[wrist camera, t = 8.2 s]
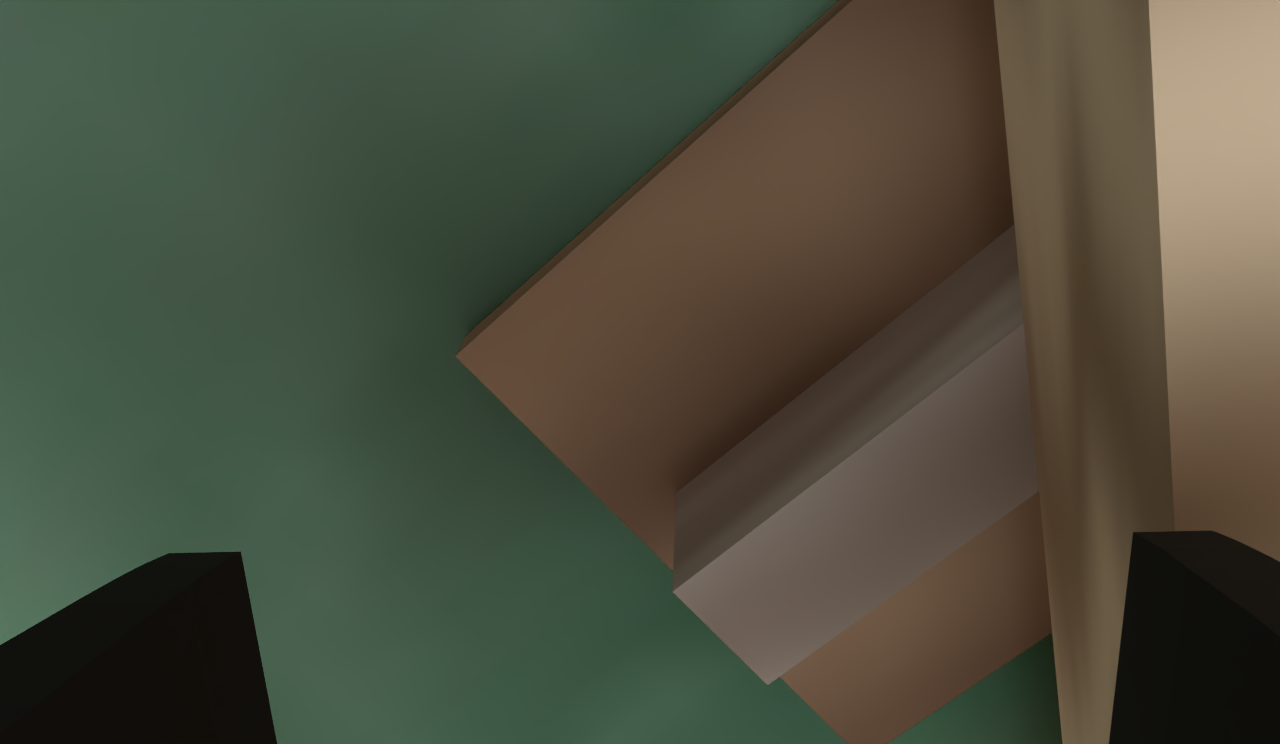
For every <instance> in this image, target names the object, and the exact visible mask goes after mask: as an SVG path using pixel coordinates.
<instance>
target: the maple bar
mask: <svg viewBox="0 0 1280 744" xmlns="http://www.w3.org/2000/svg"><path fill="white" fill-rule="evenodd" d="M994 8H995V19H996V30H997V40H998V51H999V62H1000V73H1001V84H1002V94H1003V105H1004V116H1005V127H1006V138H1007V149H1008V159H1009V170H1010V181H1011V192H1012V203H1013V214H1014V224H1015V235H1016V246H1017V257H1018V268H1019V278H1020V289H1021V300H1022V311H1023V322H1024V333H1025V343H1026V354H1027V365H1028V376H1029V387H1030V397H1031V408H1032V419H1033V430H1034V441H1035V452H1036V462H1037V473H1038V484H1039V495H1040V506H1041V517H1042V527H1043V538H1044V549H1045V560H1046V571H1047V582H1048V592H1049V603H1050V614H1051V625H1052V636H1053V646H1054V657H1055V668H1056V679H1057V690H1058V701H1059V711H1060V722H1061V733H1062V744H1109V737H1110V729H1111V720H1112V711H1113V702H1114V694H1115V685H1116V676H1117V668H1118V659H1119V650H1120V641H1121V633H1122V624H1123V615H1124V607H1125V598H1126V589H1127V580H1128V572H1129V563H1130V554H1131V545H1132V537H1133V532H1163V531H1208V530H1212V531H1215V532H1218V533H1220V534H1222V535H1225V536H1227V537H1230V538H1232V539H1234V540H1237V541H1239V542H1241V543H1243V544H1245V545H1247V546H1250V547H1252V548H1254V549H1256V550H1258V551H1260V552H1262V553H1264V554H1266V555H1268V556H1270V557H1272V558H1274V559H1275V560H1277V561H1279V562H1280V0H994Z"/></svg>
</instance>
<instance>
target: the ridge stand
mask: <svg viewBox="0 0 1280 744" xmlns="http://www.w3.org/2000/svg"><path fill="white" fill-rule="evenodd" d="M455 357H456V358H458V359H459V360H460V361H461V362H462V363H463V364H464V365H465V366H466V367H467V368H468V369H469V370H470V371H471V372H472V373H473V374H474V375H475V376H476V377H477V378H478V379H479V380H480V381H481V382H482V383H483V384H484V385H485V386H486V387H487V388H488V389H489V390H490V391H491V392H492V393H493V394H494V395H495V396H496V397H497V398H498V399H499V400H500V401H501V402H502V403H503V404H504V405H505V406H506V407H507V408H508V409H509V410H510V411H511V412H512V413H513V414H514V415H515V416H516V417H517V418H518V419H519V420H520V421H521V422H522V423H523V424H524V425H525V426H526V427H527V428H528V429H529V430H530V431H531V432H532V433H533V434H534V435H535V436H536V437H537V438H538V439H539V440H540V441H542V442H543V443H544V444H545V445H546V446H547V447H548V448H549V449H550V450H551V451H552V452H553V453H554V454H555V455H556V456H557V457H558V458H559V459H560V460H561V461H562V462H563V463H564V464H565V465H566V466H567V467H568V468H569V469H570V470H571V471H572V472H573V473H574V474H575V475H576V476H577V477H578V478H579V479H580V480H581V481H582V482H583V483H584V484H585V485H586V486H587V487H588V488H589V489H590V490H591V491H592V492H593V493H594V494H595V495H596V496H597V497H598V498H599V499H600V500H601V501H602V502H603V503H604V504H605V505H606V506H607V507H608V508H609V509H610V510H611V511H612V512H613V513H614V514H615V515H616V516H617V517H618V518H619V519H620V520H621V521H622V522H623V523H624V524H626V525H627V526H628V527H629V528H630V529H631V530H632V531H633V532H634V533H635V534H636V535H637V536H638V537H639V538H640V539H641V540H642V541H643V542H644V543H645V544H646V545H647V546H648V547H649V548H650V549H651V550H652V551H653V552H654V553H655V554H656V555H657V556H658V557H659V558H660V559H661V560H662V561H663V562H664V563H665V564H666V565H667V566H668V567H669V568H670V569H671V570H672V571H673V593H674V594H675V595H676V596H677V597H678V598H679V599H680V600H681V601H682V602H683V603H684V604H685V605H686V606H687V607H688V608H689V609H690V610H692V611H693V612H694V613H695V614H696V615H697V616H698V617H699V618H700V619H701V620H702V621H703V622H704V623H705V624H706V625H707V626H708V627H709V628H710V629H711V630H712V631H713V632H714V633H715V634H716V635H717V636H718V637H719V638H720V639H721V640H722V641H723V642H724V643H725V644H726V645H727V646H728V647H729V648H730V649H731V650H732V651H733V652H734V653H735V654H736V655H737V656H738V657H739V658H740V659H741V660H742V661H743V662H744V663H745V664H746V665H748V666H749V667H750V668H751V669H752V670H753V671H754V672H755V673H756V674H757V675H758V676H759V677H760V678H761V679H762V680H763V681H764V682H765V683H766V684H767V685H769V684H770V683H771V682H773V681H774V680H776V679H777V678H778V677H780V678H781V679H782V680H783V681H784V682H785V683H786V684H787V685H788V686H789V687H790V688H791V689H792V690H793V691H795V692H796V693H797V694H798V695H799V696H800V697H801V698H802V699H803V700H804V701H805V702H806V703H807V704H808V705H809V706H810V707H811V708H812V709H813V710H814V711H815V712H816V713H817V714H818V715H819V716H820V717H821V718H822V719H823V720H824V721H825V722H826V723H827V724H828V725H829V726H830V727H831V728H832V729H833V730H834V731H835V732H836V733H837V734H838V735H839V736H840V737H841V738H842V739H843V740H844V741H845V742H846V743H847V744H887V743H889V742H890V741H892V740H893V739H895V738H896V737H898V736H899V735H901V734H902V733H904V732H905V731H907V730H908V729H910V728H911V727H913V726H914V725H916V724H917V723H919V722H920V721H922V720H923V719H925V718H926V717H928V716H929V715H931V714H932V713H933V712H935V711H936V710H938V709H939V708H941V707H942V706H944V705H945V704H947V703H948V702H950V701H951V700H953V699H954V698H956V697H957V696H959V695H960V694H962V693H963V692H965V691H966V690H968V689H969V688H971V687H972V686H974V685H975V684H976V683H978V682H979V681H981V680H982V679H984V678H985V677H987V676H988V675H990V674H991V673H993V672H994V671H996V670H997V669H999V668H1000V667H1002V666H1003V665H1005V664H1006V663H1008V662H1009V661H1011V660H1012V659H1014V658H1015V657H1017V656H1018V655H1020V654H1021V653H1022V652H1024V651H1025V650H1027V649H1028V648H1030V647H1031V646H1033V645H1034V644H1036V643H1037V642H1039V641H1040V640H1042V639H1043V638H1045V637H1046V636H1048V635H1049V634H1051V633H1052V625H1051V614H1050V603H1049V592H1048V582H1047V571H1046V560H1045V549H1044V538H1043V527H1042V517H1041V506H1040V495H1039V484H1038V473H1037V462H1036V452H1035V441H1034V430H1033V419H1032V408H1031V397H1030V387H1029V376H1028V365H1027V354H1026V343H1025V333H1024V322H1023V311H1022V300H1021V289H1020V278H1019V268H1018V257H1017V246H1016V235H1015V224H1014V214H1013V203H1012V192H1011V181H1010V170H1009V159H1008V149H1007V138H1006V127H1005V116H1004V105H1003V94H1002V84H1001V73H1000V62H999V51H998V40H997V30H996V19H995V8H994V0H838V1H837V2H836V3H835V4H834V5H833V6H832V7H831V8H829V9H828V10H827V11H826V12H825V13H824V14H823V15H822V16H821V17H819V18H818V19H817V20H816V21H815V22H814V23H813V24H812V25H811V26H809V27H808V28H807V29H806V30H805V31H804V32H803V33H802V34H801V35H799V36H798V37H797V38H796V39H795V40H794V41H793V42H792V43H791V44H789V45H788V46H787V47H786V48H785V49H784V50H783V51H782V52H781V53H779V54H778V55H777V56H776V57H775V58H774V59H773V60H772V61H771V62H769V63H768V64H767V65H766V66H765V67H764V68H763V69H762V70H761V71H759V72H758V73H757V74H756V75H755V76H754V77H753V78H752V79H751V80H749V81H748V82H747V83H746V84H745V85H744V86H743V87H742V88H741V89H739V90H738V91H737V92H736V93H735V94H734V95H733V96H732V97H731V98H729V99H728V100H727V101H726V102H725V103H724V104H723V105H722V106H721V107H719V108H718V109H717V110H716V111H715V112H714V113H713V114H712V115H711V116H709V117H708V118H707V119H706V120H705V121H704V122H703V123H702V124H701V125H699V126H698V127H697V128H696V129H695V130H694V131H693V132H692V133H691V134H689V135H688V136H687V137H686V138H685V139H684V140H683V141H682V142H681V143H679V144H678V145H677V146H676V147H675V148H674V149H673V150H672V151H671V152H669V153H668V154H667V155H666V156H665V157H664V158H663V159H662V160H661V161H659V162H658V163H657V164H656V165H655V166H654V167H653V168H652V169H651V170H649V171H648V172H647V173H646V174H645V175H644V176H643V177H642V178H641V179H639V180H638V181H637V182H636V183H635V184H634V185H633V186H632V187H631V188H629V189H628V190H627V191H626V192H625V193H624V194H623V195H622V196H621V197H619V198H618V199H617V200H616V201H615V202H614V203H613V204H612V205H611V206H609V207H608V208H607V209H606V210H605V211H604V212H603V213H602V214H601V215H599V216H598V217H597V218H596V219H595V220H594V221H593V222H592V223H591V224H589V225H588V226H587V227H586V228H585V229H584V230H583V231H582V232H581V233H579V234H578V235H577V236H576V237H575V238H574V239H573V240H572V241H571V242H569V243H568V244H567V245H566V246H565V247H564V248H563V249H562V250H561V251H559V252H558V253H557V254H556V255H555V256H554V257H553V258H552V259H551V260H549V261H548V262H547V263H546V264H545V265H544V266H543V267H542V268H541V269H539V270H538V271H537V272H536V273H535V274H534V275H533V276H532V277H531V278H529V279H528V280H527V281H526V282H525V283H524V284H523V285H522V286H521V287H519V288H518V289H517V290H516V291H515V292H514V293H513V294H512V295H511V296H509V297H508V298H507V299H506V300H505V301H504V302H503V303H502V304H501V305H499V306H498V307H497V308H496V309H495V310H494V311H493V312H492V313H491V314H489V315H488V316H487V317H486V318H485V319H484V320H483V321H482V322H481V323H479V324H478V325H477V326H476V327H475V328H474V329H473V330H472V331H471V332H469V333H468V334H467V335H466V337H465V339H464V341H463V343H462V345H461V346H460V348H459V350H458V352H457V354H456V355H455Z"/></svg>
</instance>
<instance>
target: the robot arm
mask: <svg viewBox="0 0 1280 744" xmlns="http://www.w3.org/2000/svg"><path fill="white" fill-rule="evenodd" d="M0 744H277V741H276V736H275V731H274V725H273V720H272V715H271V709H270V704H269V699H268V693H267V688H266V683H265V678H264V672H263V667H262V662H261V656H260V651H259V646H258V640H257V635H256V630H255V625H254V619H253V614H252V609H251V603H250V598H249V593H248V587H247V582H246V577H245V572H244V566H243V561H242V556H241V552H209V553H169V554H166V555H164V556H162V557H159V558H157V559H155V560H152V561H150V562H148V563H146V564H144V565H142V566H140V567H138V568H136V569H134V570H132V571H130V572H128V573H126V574H124V575H122V576H120V577H118V578H117V579H115V580H113V581H111V582H109V583H107V584H106V585H104V586H102V587H100V588H98V589H97V590H95V591H93V592H91V593H90V594H88V595H86V596H84V597H83V598H81V599H79V600H77V601H76V602H74V603H72V604H70V605H69V606H67V607H65V608H63V609H62V610H60V611H58V612H57V613H55V614H53V615H51V616H50V617H48V618H46V619H45V620H43V621H41V622H39V623H38V624H36V625H34V626H33V627H31V628H29V629H27V630H26V631H24V632H22V633H20V634H19V635H17V636H15V637H14V638H12V639H10V640H8V641H7V642H5V643H3V644H2V645H0ZM1109 744H1280V562H1279V561H1277V560H1275V559H1274V558H1272V557H1270V556H1268V555H1266V554H1264V553H1262V552H1260V551H1258V550H1256V549H1254V548H1252V547H1250V546H1247V545H1245V544H1243V543H1241V542H1239V541H1237V540H1234V539H1232V538H1230V537H1227V536H1225V535H1222V534H1220V533H1218V532H1215V531H1212V530H1208V531H1163V532H1133V537H1132V545H1131V554H1130V563H1129V572H1128V580H1127V589H1126V598H1125V607H1124V615H1123V624H1122V633H1121V641H1120V650H1119V659H1118V668H1117V676H1116V685H1115V694H1114V702H1113V711H1112V720H1111V729H1110V737H1109Z"/></svg>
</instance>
